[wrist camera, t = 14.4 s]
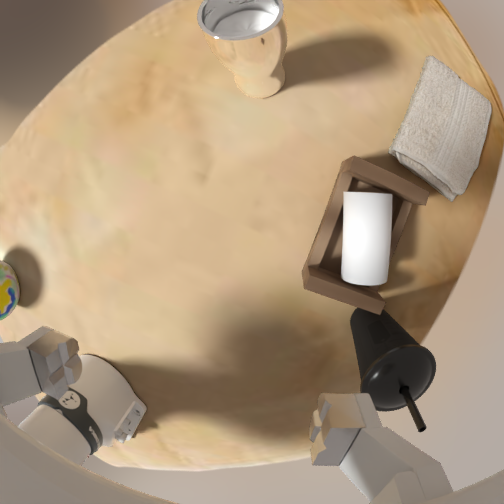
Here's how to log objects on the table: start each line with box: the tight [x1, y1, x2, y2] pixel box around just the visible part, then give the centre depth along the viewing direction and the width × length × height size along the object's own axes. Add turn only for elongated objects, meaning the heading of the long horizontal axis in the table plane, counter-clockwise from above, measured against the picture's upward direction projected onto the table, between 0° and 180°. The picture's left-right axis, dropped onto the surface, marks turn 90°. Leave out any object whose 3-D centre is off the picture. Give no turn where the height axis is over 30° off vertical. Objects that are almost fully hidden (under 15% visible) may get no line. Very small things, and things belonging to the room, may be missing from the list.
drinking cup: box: [350, 308, 436, 432], centre depth 24 cm, size 8×8×20 cm
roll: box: [341, 192, 392, 286], centre depth 28 cm, size 9×5×5 cm
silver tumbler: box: [197, 0, 288, 98], centre depth 22 cm, size 7×7×15 cm
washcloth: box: [388, 56, 491, 202], centre depth 26 cm, size 12×18×3 cm, turn 154°
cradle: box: [302, 156, 430, 315], centre depth 29 cm, size 14×9×6 cm, turn 161°
